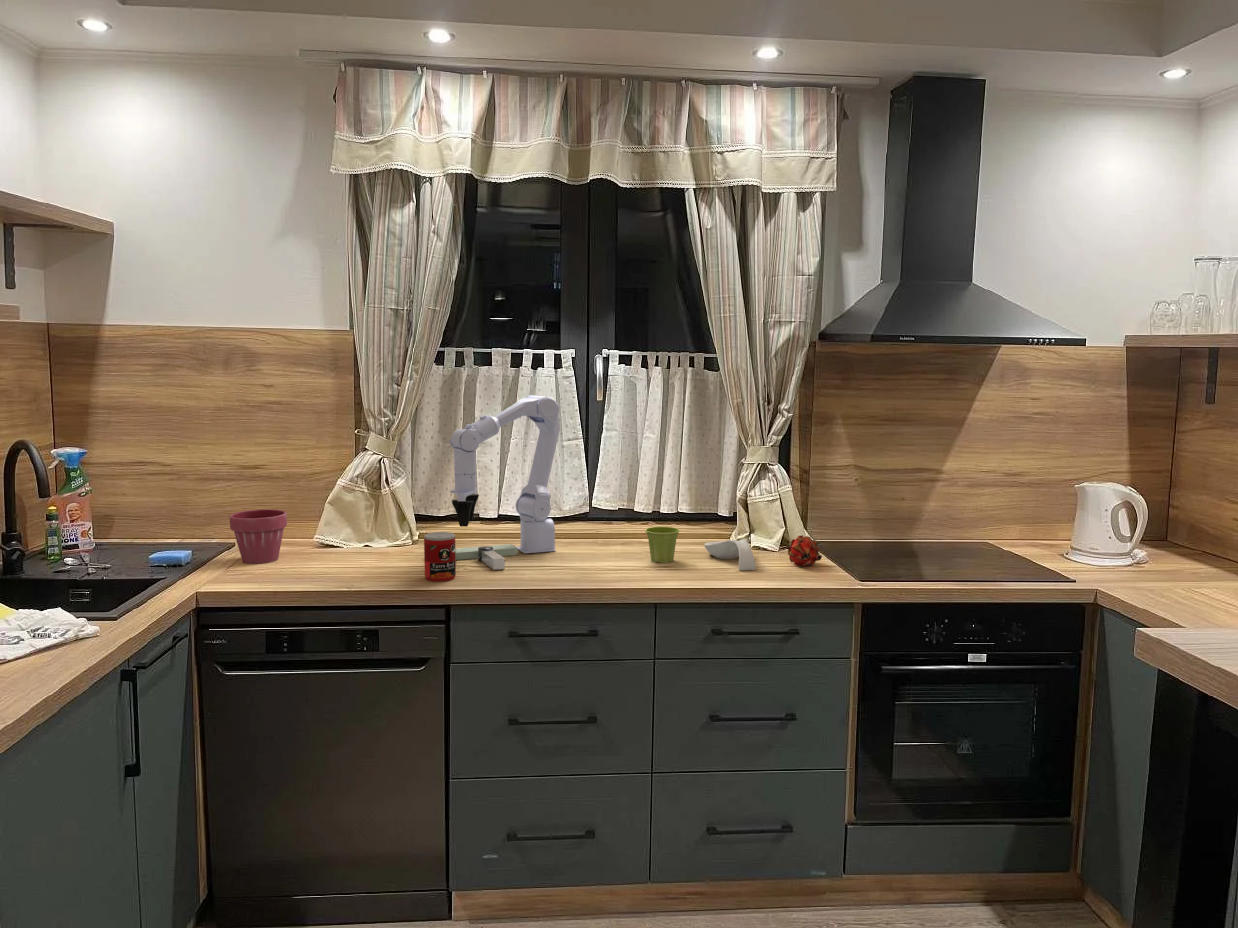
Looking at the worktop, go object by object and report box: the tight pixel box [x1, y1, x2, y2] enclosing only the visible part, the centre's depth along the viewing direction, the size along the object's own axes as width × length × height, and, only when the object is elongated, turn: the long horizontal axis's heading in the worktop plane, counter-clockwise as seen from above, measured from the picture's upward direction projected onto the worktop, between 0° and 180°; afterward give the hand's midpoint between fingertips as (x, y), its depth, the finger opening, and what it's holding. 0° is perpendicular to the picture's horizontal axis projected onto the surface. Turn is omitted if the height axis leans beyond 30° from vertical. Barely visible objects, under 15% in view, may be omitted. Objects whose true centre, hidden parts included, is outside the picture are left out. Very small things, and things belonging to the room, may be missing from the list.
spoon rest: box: [703, 538, 757, 571], centre depth 254 cm, size 24×12×7 cm, turn 14°
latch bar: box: [477, 545, 506, 571], centre depth 247 cm, size 14×4×3 cm, turn 24°
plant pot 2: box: [644, 526, 681, 564], centre depth 253 cm, size 9×9×9 cm
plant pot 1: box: [229, 508, 288, 565], centre depth 250 cm, size 14×14×13 cm
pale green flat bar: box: [455, 543, 518, 561], centre depth 257 cm, size 24×5×2 cm, turn 114°
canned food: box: [423, 531, 457, 583], centre depth 232 cm, size 8×8×11 cm
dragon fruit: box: [787, 534, 823, 568], centre depth 249 cm, size 8×8×12 cm
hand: (466, 523), depth 251 cm, fingers open, 7 cm apart
